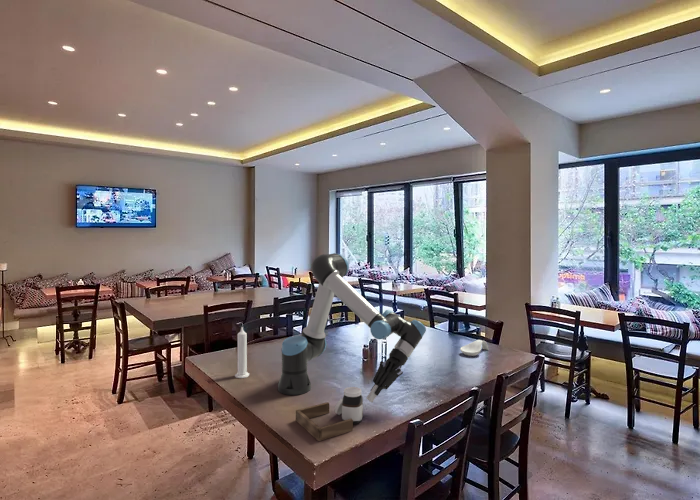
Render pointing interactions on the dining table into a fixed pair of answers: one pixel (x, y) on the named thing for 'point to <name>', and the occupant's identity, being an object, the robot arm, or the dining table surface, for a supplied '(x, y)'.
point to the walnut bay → (325, 431)
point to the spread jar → (351, 405)
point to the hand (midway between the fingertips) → (369, 400)
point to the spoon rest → (474, 348)
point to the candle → (242, 355)
